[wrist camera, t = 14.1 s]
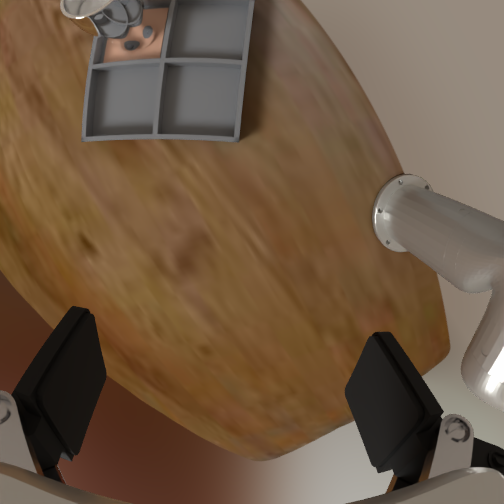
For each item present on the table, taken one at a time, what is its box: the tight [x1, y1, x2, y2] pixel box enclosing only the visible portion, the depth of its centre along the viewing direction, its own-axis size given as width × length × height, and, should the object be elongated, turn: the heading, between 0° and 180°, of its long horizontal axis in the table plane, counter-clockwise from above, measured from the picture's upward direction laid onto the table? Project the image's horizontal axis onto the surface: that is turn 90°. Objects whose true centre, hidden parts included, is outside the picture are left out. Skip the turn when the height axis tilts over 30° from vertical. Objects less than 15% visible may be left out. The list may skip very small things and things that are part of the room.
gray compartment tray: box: [82, 0, 255, 142], centre depth 29 cm, size 20×20×3 cm
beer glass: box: [60, 0, 157, 54], centre depth 20 cm, size 7×7×15 cm
